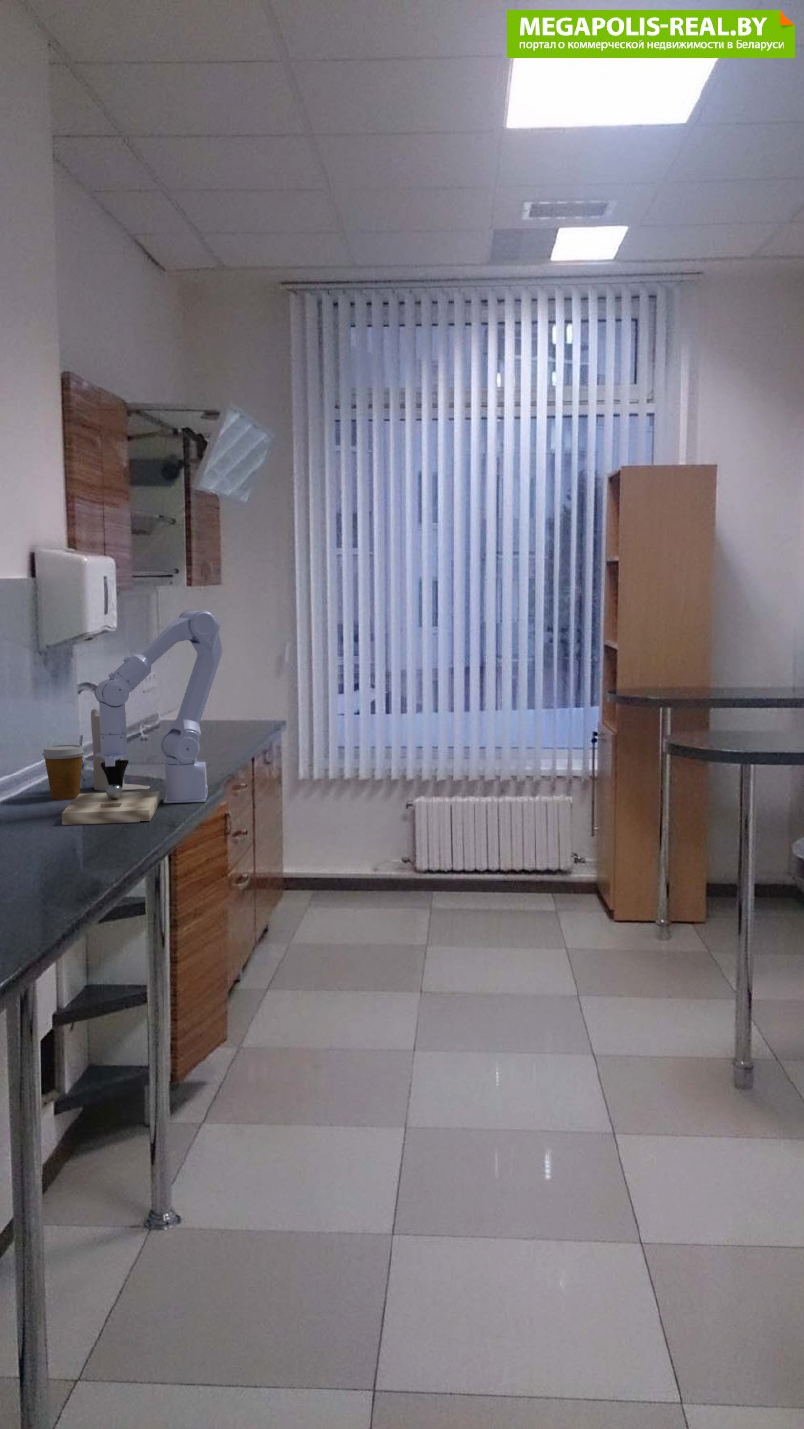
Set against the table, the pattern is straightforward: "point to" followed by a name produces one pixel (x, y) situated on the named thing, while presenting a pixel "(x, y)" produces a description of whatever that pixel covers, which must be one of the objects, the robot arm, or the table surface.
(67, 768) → the disposable coffee cup
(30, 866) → the table surface
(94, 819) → the birch plate
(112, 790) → the steel ball
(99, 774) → the beige bookend
